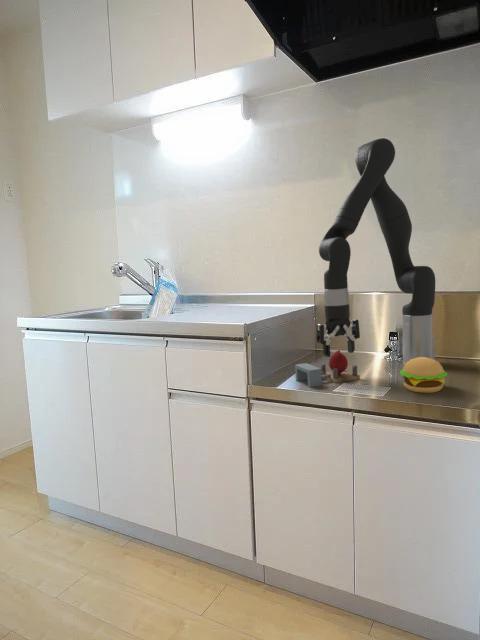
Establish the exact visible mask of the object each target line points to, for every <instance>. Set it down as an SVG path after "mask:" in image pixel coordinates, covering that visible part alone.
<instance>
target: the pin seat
mask: <svg viewBox="0 0 480 640" xmlns="http://www.w3.org/2000/svg"><path fill="white" fill-rule="evenodd" d="M351 368H352V372H351V371H348V370H346V369H345V370H344V371H343V372H342V373H341V374H339V375H338V369H337V368H334V369H333V371H327V370H326V363H321V364H320V369H321V379H322V380H327V381H328V382H329V381H330V382H332V383H334V384H335V383H337V384H338V383H342V382H348V381H355V380H360V378H361V375H359V374H358V365H355V364H354V365H352V367H351ZM326 371H327V372H326Z"/></svg>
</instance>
